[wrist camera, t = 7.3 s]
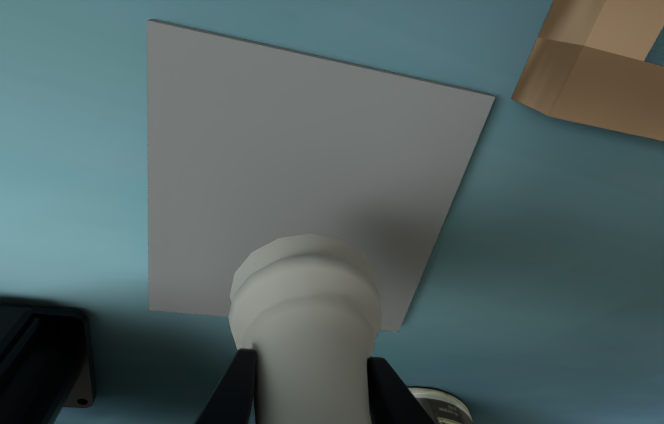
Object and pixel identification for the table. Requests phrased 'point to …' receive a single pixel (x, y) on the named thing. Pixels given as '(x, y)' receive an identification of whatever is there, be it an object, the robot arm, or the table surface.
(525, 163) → the table surface
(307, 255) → the rook chess piece
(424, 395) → the coffee can
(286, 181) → the grey mat
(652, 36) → the brown wooden frame
